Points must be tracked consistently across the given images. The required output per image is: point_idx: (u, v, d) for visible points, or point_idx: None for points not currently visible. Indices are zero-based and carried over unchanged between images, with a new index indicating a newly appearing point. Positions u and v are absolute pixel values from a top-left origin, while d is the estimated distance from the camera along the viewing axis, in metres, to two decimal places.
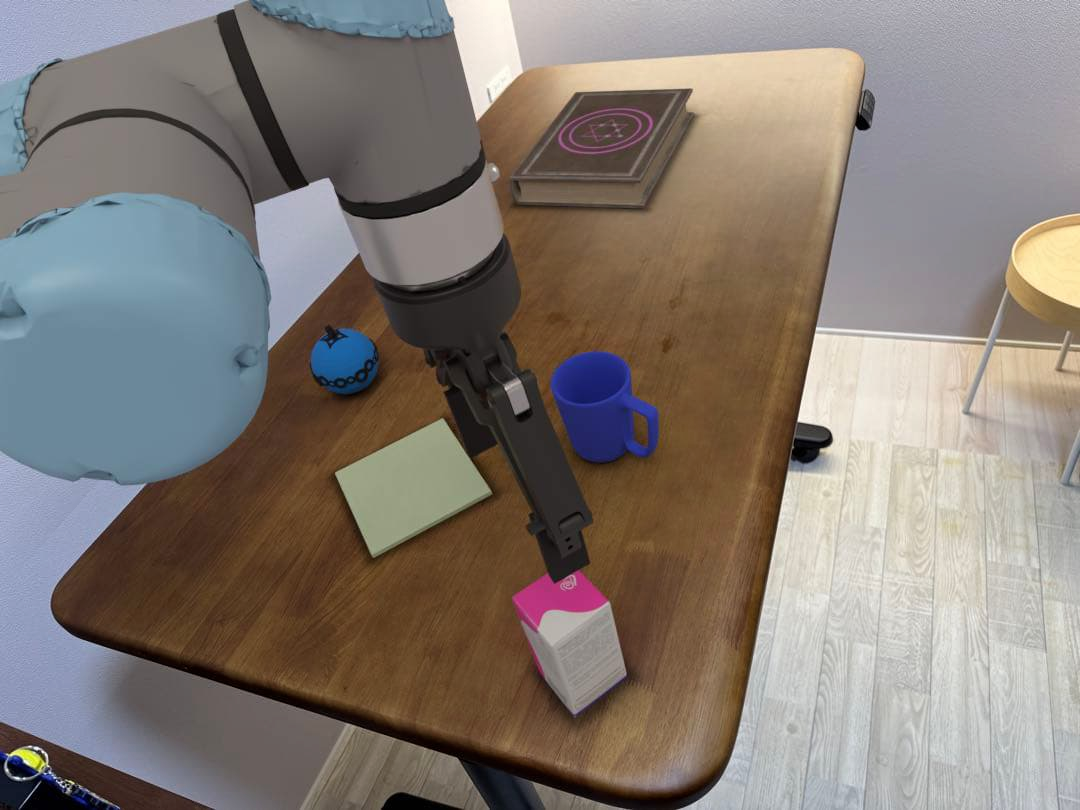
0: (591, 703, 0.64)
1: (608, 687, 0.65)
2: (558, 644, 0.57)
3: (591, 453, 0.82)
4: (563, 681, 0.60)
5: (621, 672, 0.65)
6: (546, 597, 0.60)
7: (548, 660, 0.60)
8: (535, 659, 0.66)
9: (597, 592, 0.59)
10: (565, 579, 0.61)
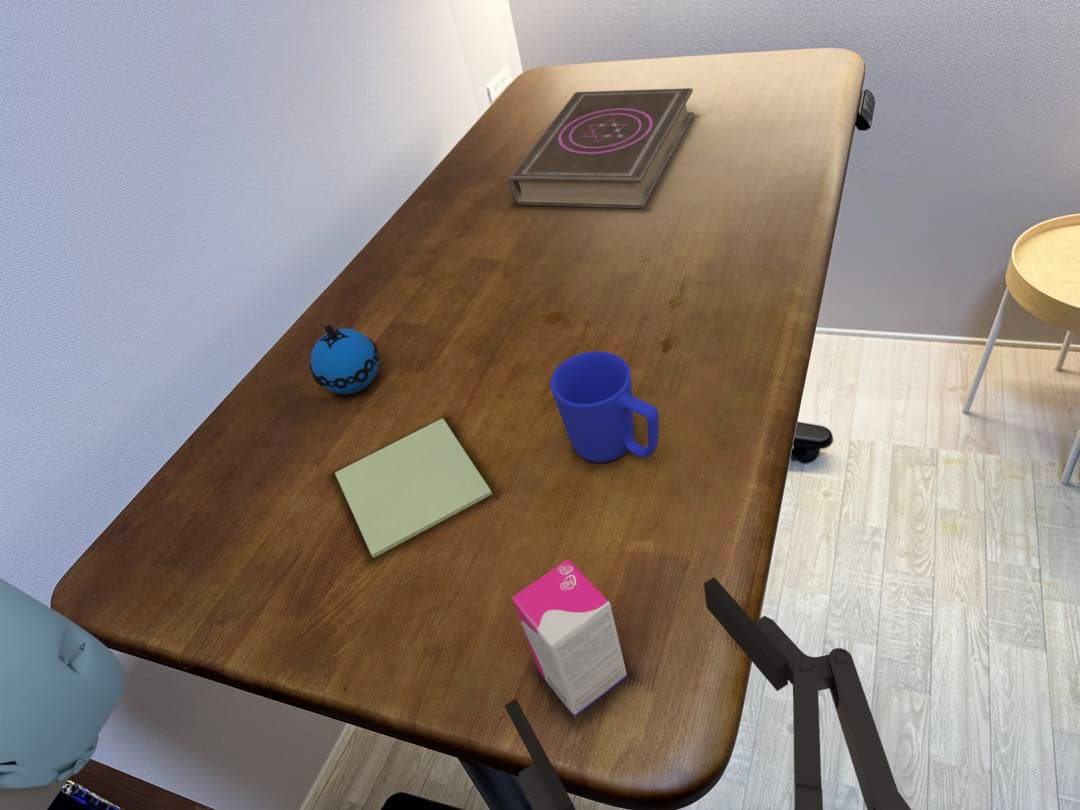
0: (591, 703, 0.64)
1: (608, 687, 0.65)
2: (558, 644, 0.57)
3: (591, 453, 0.82)
4: (563, 681, 0.60)
5: (621, 672, 0.65)
6: (546, 597, 0.60)
7: (548, 660, 0.60)
8: (535, 659, 0.66)
9: (597, 592, 0.59)
10: (565, 579, 0.61)
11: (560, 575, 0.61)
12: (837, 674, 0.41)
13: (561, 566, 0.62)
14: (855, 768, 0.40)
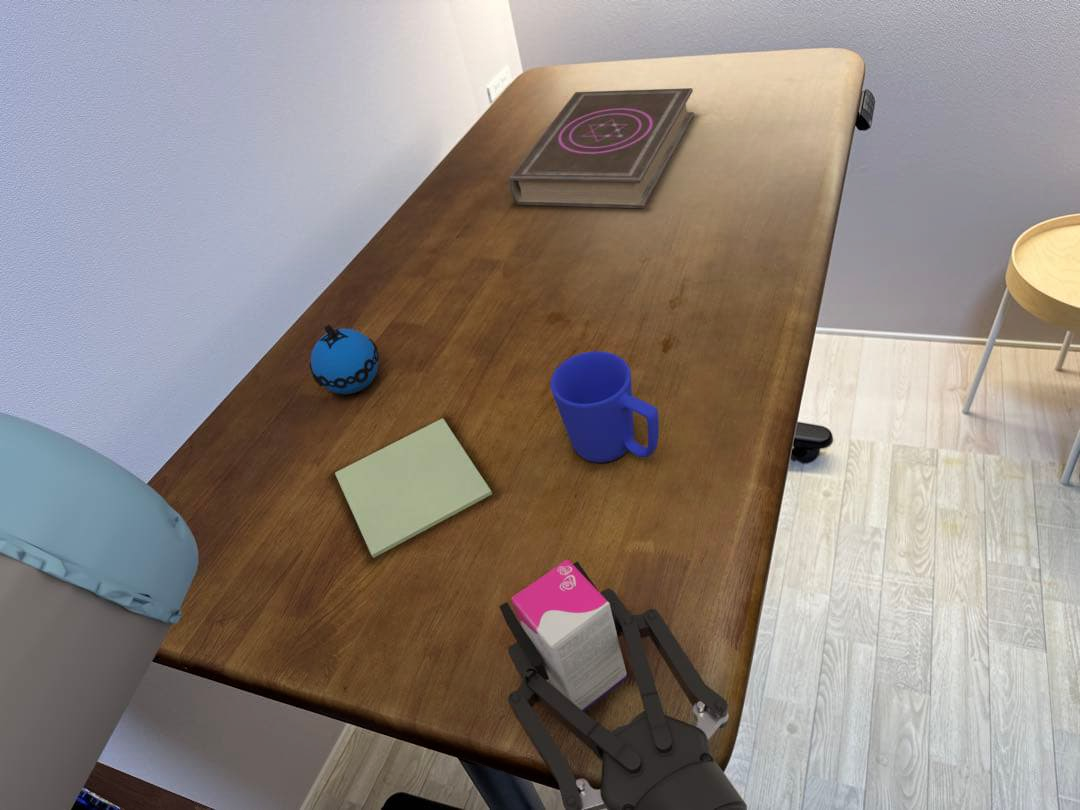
0: (591, 703, 0.64)
1: (608, 687, 0.65)
2: (557, 645, 0.57)
3: (591, 453, 0.82)
4: (563, 681, 0.60)
5: (621, 672, 0.65)
6: (546, 598, 0.60)
7: (548, 660, 0.60)
8: None
9: (596, 592, 0.59)
10: (564, 580, 0.61)
11: (559, 575, 0.61)
12: (652, 626, 0.61)
13: (561, 566, 0.62)
14: (679, 682, 0.59)
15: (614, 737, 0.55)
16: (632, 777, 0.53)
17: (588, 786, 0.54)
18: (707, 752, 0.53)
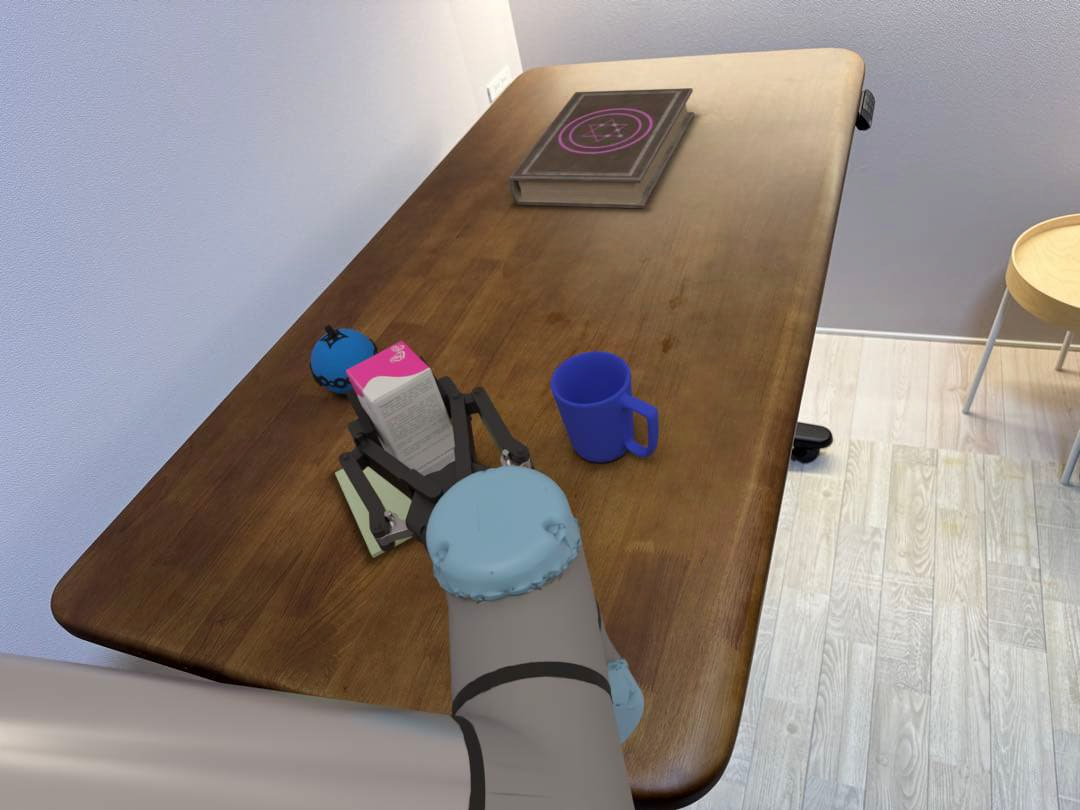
0: None
1: None
2: (378, 401, 0.62)
3: (591, 453, 0.82)
4: (392, 447, 0.65)
5: None
6: (375, 368, 0.65)
7: (379, 428, 0.66)
8: None
9: (421, 362, 0.64)
10: (395, 355, 0.66)
11: (392, 352, 0.66)
12: (476, 399, 0.66)
13: (395, 345, 0.67)
14: (496, 445, 0.64)
15: (423, 477, 0.60)
16: (434, 506, 0.58)
17: (396, 518, 0.59)
18: None
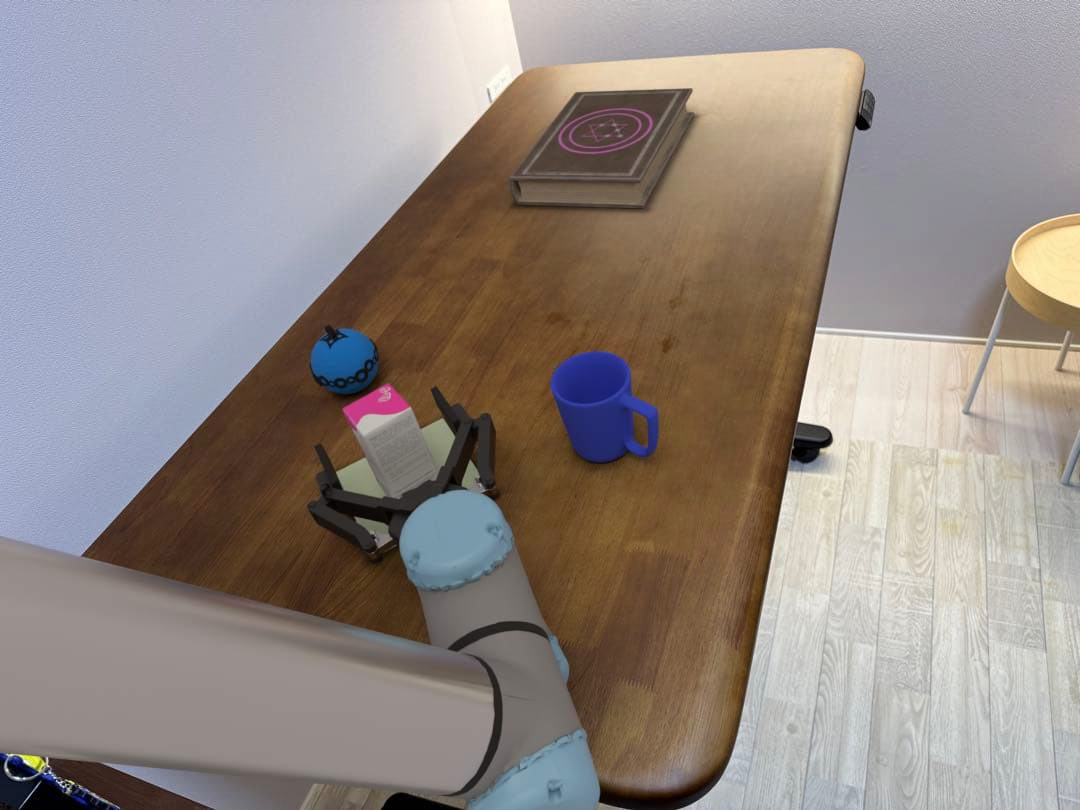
0: None
1: None
2: (369, 435, 0.76)
3: (591, 453, 0.82)
4: (380, 471, 0.80)
5: (434, 475, 0.84)
6: (366, 407, 0.79)
7: (370, 456, 0.80)
8: (371, 468, 0.85)
9: (404, 402, 0.79)
10: (383, 395, 0.80)
11: (380, 393, 0.81)
12: (480, 423, 0.80)
13: (382, 387, 0.81)
14: None
15: (395, 499, 0.74)
16: None
17: (379, 534, 0.73)
18: None
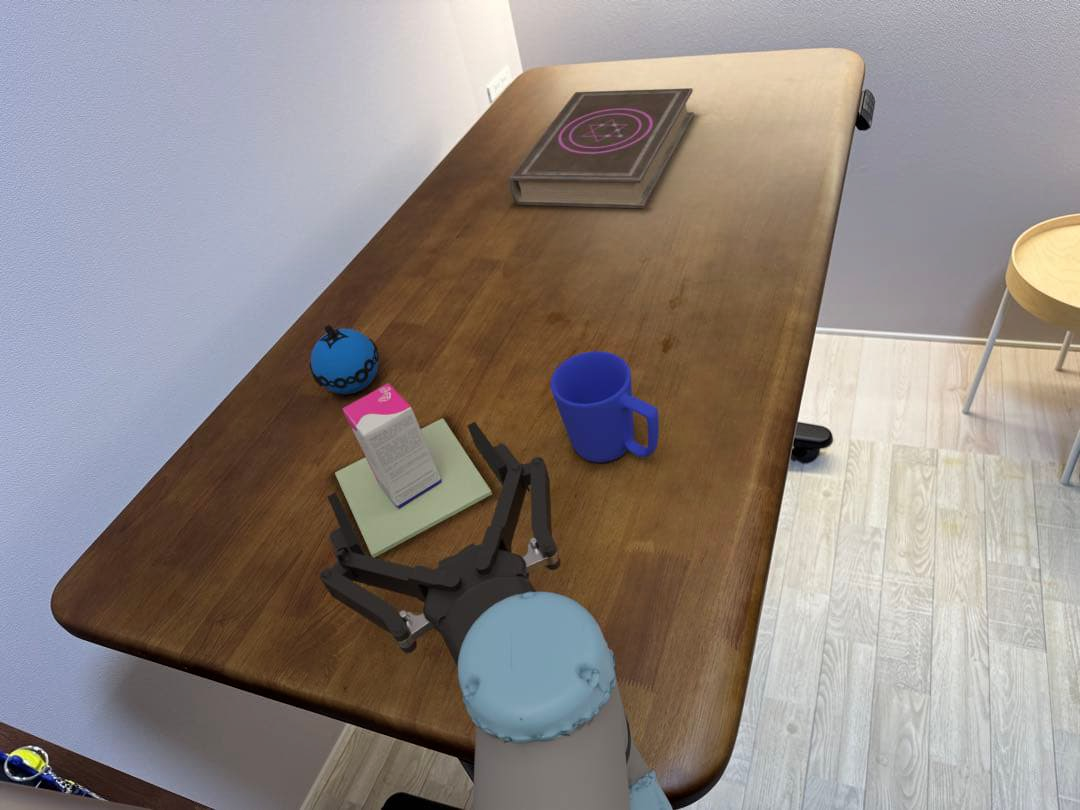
0: (411, 498, 0.84)
1: (425, 487, 0.84)
2: (369, 435, 0.76)
3: (591, 453, 0.82)
4: (380, 471, 0.80)
5: (434, 475, 0.84)
6: (366, 407, 0.79)
7: (370, 456, 0.80)
8: (371, 468, 0.85)
9: (404, 402, 0.79)
10: (383, 395, 0.80)
11: (380, 393, 0.81)
12: (532, 470, 0.65)
13: (382, 387, 0.81)
14: None
15: (432, 570, 0.59)
16: (456, 594, 0.58)
17: (412, 615, 0.58)
18: (522, 573, 0.58)
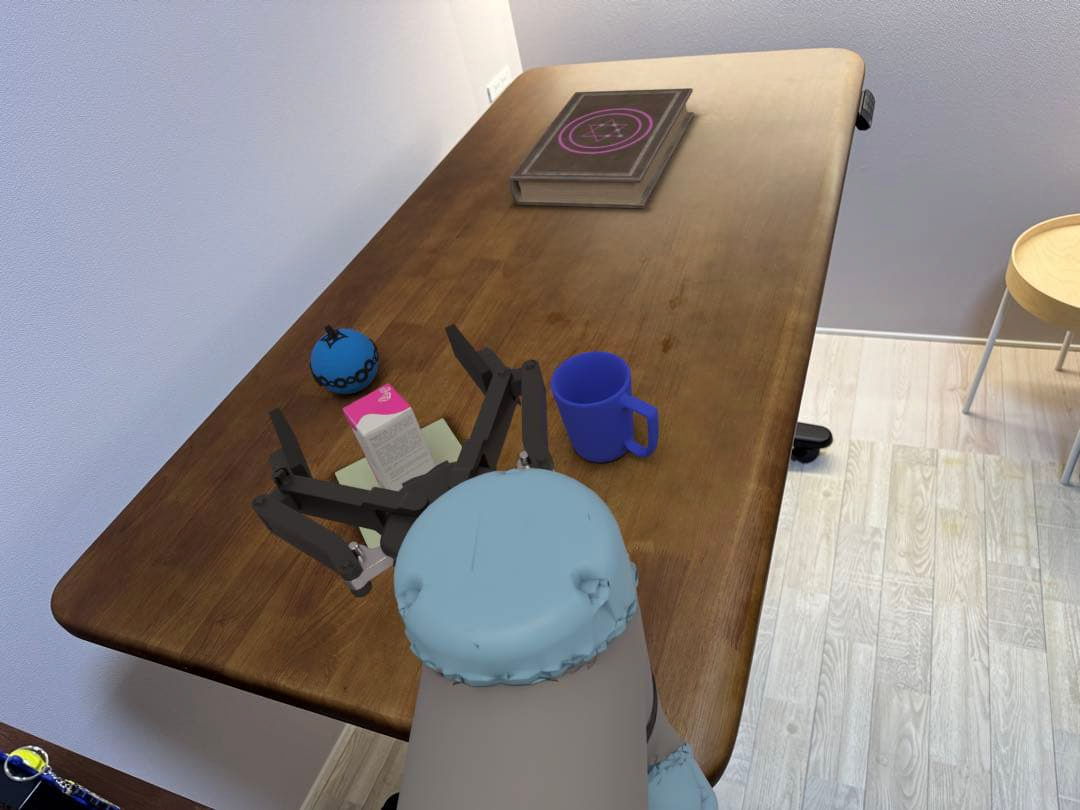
0: None
1: None
2: (369, 435, 0.76)
3: (591, 453, 0.82)
4: (380, 471, 0.80)
5: None
6: (366, 407, 0.79)
7: (370, 456, 0.80)
8: (371, 468, 0.85)
9: (404, 402, 0.79)
10: (383, 395, 0.80)
11: (380, 393, 0.81)
12: (524, 375, 0.51)
13: (382, 387, 0.81)
14: None
15: (392, 491, 0.45)
16: None
17: (365, 549, 0.44)
18: None
